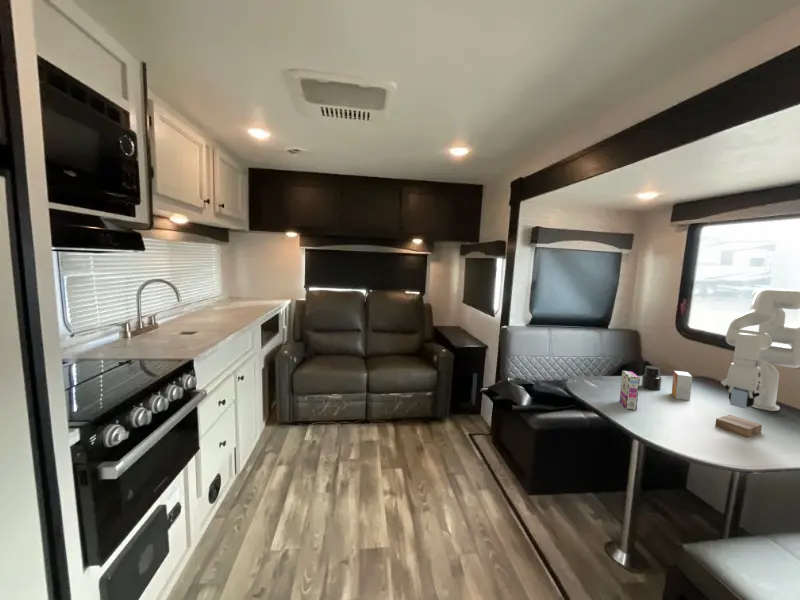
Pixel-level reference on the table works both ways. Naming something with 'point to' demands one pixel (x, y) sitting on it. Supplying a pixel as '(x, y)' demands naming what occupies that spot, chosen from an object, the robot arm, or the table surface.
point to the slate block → (739, 398)
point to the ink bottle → (651, 378)
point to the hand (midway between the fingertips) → (740, 403)
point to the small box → (681, 385)
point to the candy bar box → (629, 390)
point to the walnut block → (738, 426)
